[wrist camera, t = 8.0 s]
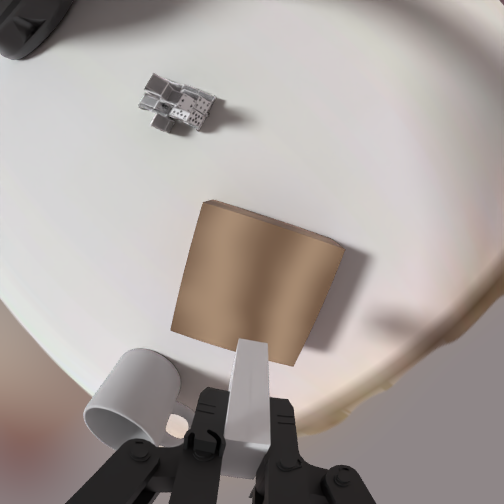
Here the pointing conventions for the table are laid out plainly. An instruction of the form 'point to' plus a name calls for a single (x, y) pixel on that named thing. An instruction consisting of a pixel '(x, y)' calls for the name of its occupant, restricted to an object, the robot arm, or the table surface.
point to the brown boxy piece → (253, 281)
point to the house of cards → (175, 103)
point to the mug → (137, 401)
